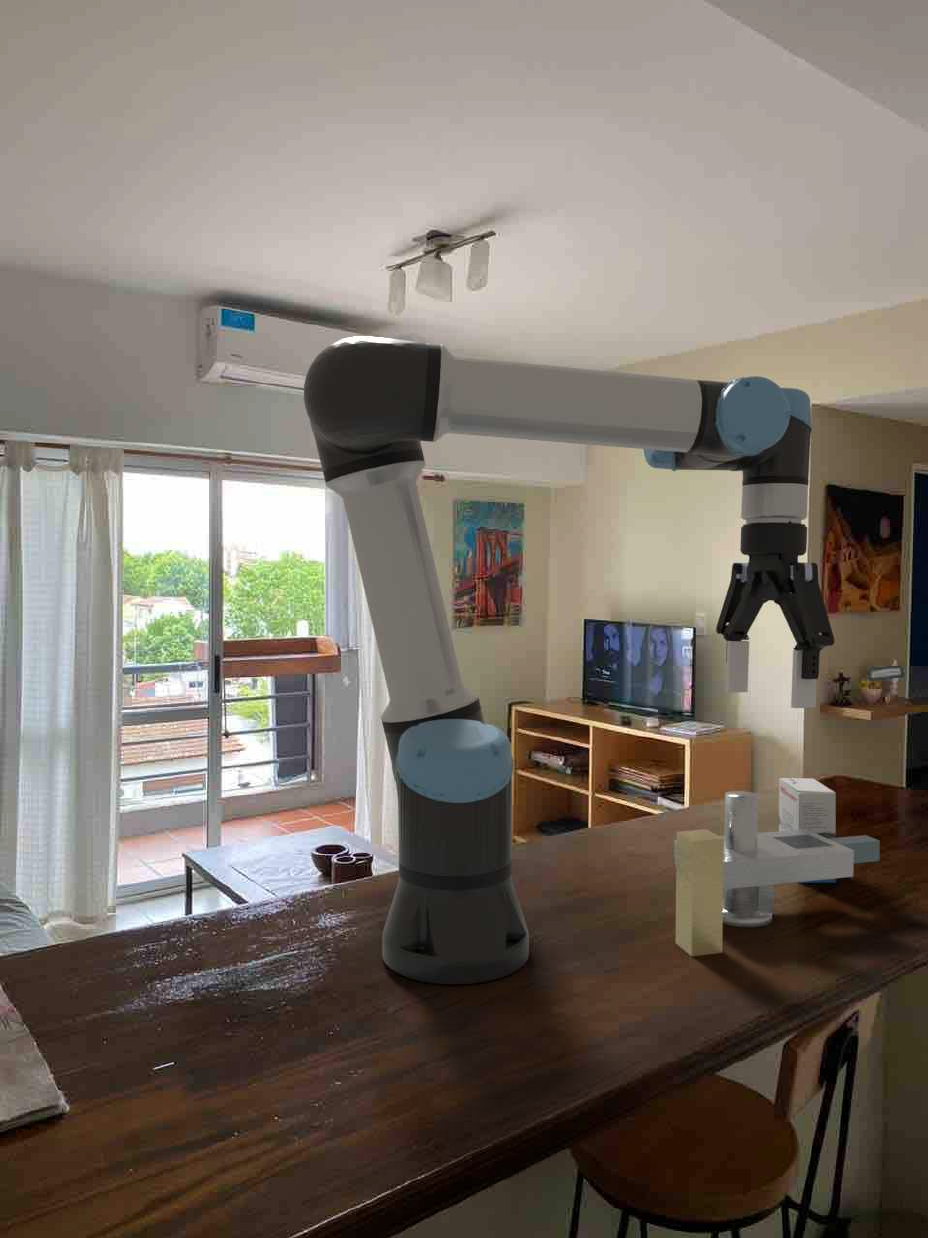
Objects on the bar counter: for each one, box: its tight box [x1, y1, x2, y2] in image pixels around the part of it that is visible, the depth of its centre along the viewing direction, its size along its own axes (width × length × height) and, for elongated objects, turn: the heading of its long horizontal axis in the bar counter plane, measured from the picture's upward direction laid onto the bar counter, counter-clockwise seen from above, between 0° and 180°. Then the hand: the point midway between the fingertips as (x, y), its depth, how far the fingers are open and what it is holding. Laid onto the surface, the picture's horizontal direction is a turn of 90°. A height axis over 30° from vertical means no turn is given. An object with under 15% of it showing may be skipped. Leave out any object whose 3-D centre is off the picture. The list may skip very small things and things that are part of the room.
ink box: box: [778, 777, 837, 884], centre depth 122 cm, size 9×5×12 cm, turn 179°
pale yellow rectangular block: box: [675, 828, 724, 957], centre depth 98 cm, size 4×4×12 cm
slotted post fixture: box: [673, 790, 881, 928], centre depth 108 cm, size 24×9×14 cm, turn 104°
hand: (768, 699), depth 113 cm, fingers open, 13 cm apart
